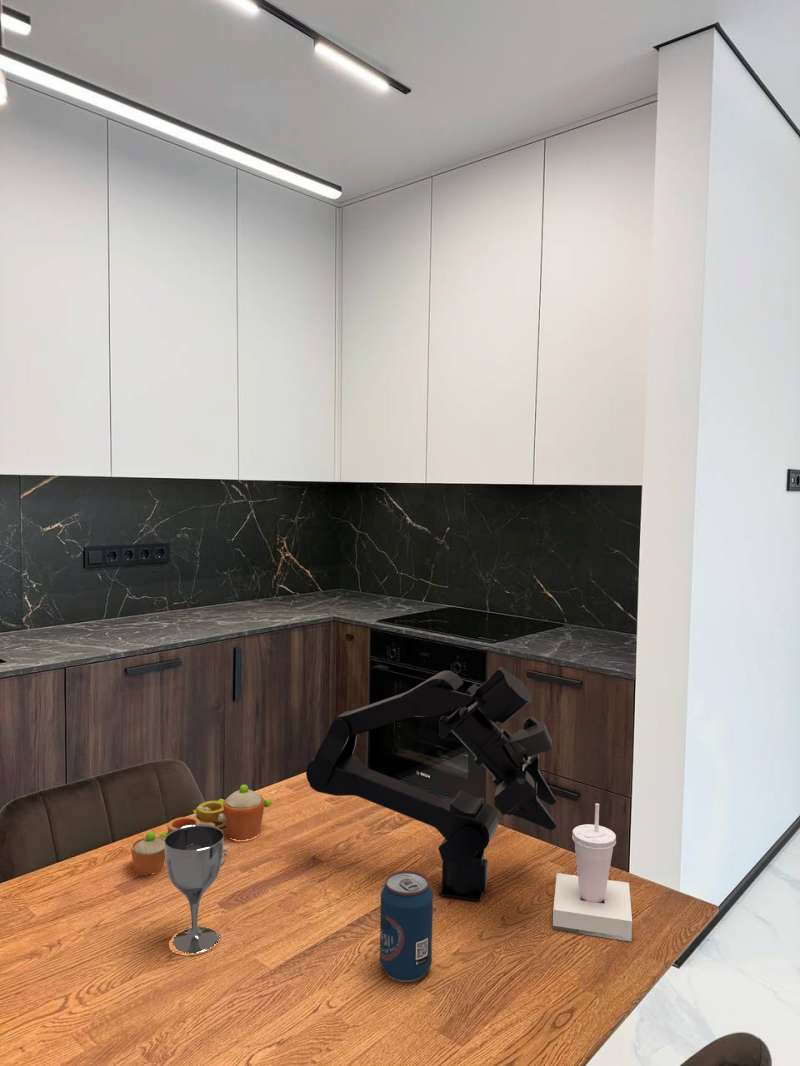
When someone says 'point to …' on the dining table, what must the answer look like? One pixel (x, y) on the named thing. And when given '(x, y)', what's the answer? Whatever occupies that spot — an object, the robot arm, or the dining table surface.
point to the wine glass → (194, 876)
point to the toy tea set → (234, 813)
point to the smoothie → (593, 858)
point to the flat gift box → (592, 910)
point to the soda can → (406, 926)
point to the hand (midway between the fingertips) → (554, 815)
